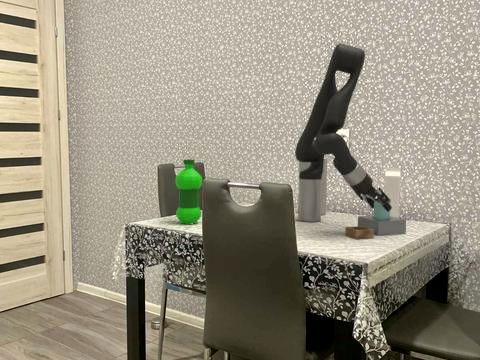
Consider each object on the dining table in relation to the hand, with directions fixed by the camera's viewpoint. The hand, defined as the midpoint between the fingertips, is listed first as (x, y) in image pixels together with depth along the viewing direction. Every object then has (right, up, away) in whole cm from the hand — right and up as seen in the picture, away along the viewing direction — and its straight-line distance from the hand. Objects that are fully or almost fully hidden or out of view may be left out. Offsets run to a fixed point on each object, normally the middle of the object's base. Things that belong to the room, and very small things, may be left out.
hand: (382, 208), depth 173 cm
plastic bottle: (-72, -7, +14) cm, 74 cm away
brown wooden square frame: (-11, -9, -10) cm, 17 cm away
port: (0, -9, +1) cm, 9 cm away
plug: (0, -8, 0) cm, 8 cm away
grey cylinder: (-19, -5, +44) cm, 48 cm away
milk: (+12, -7, +27) cm, 30 cm away
